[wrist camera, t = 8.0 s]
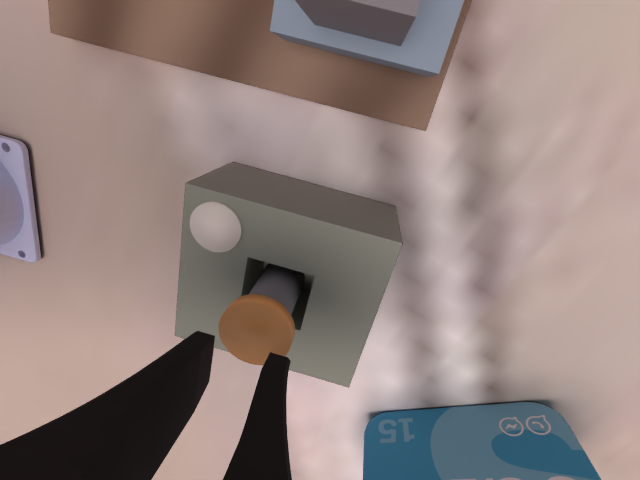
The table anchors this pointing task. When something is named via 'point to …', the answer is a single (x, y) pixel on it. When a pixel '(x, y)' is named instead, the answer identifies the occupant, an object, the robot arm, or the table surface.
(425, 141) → the table surface
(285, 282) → the button
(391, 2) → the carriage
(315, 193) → the cabinet
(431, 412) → the data package
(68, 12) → the rail
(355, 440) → the table surface
